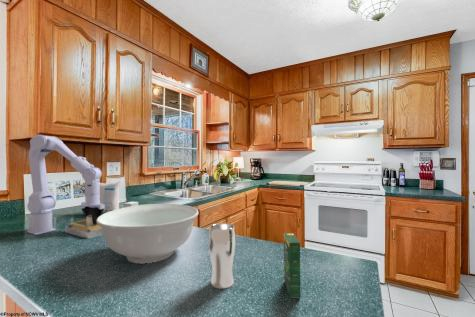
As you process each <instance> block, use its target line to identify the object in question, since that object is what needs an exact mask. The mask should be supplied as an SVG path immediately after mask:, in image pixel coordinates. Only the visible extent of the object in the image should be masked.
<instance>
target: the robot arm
mask: <svg viewBox="0 0 475 317" xmlns="http://www.w3.org/2000/svg"><path fill="white" fill-rule="evenodd" d="M29 144H30V147H29V150H28V162H29V171H30V176H31V177H30V178H31V185H32V193H31V194H30V195H29V196H28V203H27V205H26V207H27V210H28V212H30V216H29V217H28V221H29V224H28V228H29V229H28V230H26V233H30V234H31V235H42V234H47V233H51V232H55V231H57V228H53V211H54V208H55V207H56V205H57V201H56V198H55V197H54V193H53V192H52V191H51V190H49V182H48V175H47V167H46V159H45V158H46V156H47V155H48V154H49V153H51V152H53V151H55V152H57V153H59V154H60V155H61V156H63V157H64V158H65V159H67V160H68V161H69V162H70V166H71V167H72V168H73V169H75V170H76V171H77V172H79V173H80V174H81V177H82V179H83V180H84V187H85V188H84V195H85V198H84V200H85V201H84V202H81V203H80V204H81V205H80V207H82V208H81V211H82V213H83V214H84V218H86V217H87V216H88V215H92V221H93V224H97V218H98V217H99V216H101V215H102V213H104V212H103V210H104V209H105V204H102V203H100V183H101V182H100V180H101V178H102V176H103V171H102V170H101V169H100V168H99V167H95V165H94V164H91V163H90V162H88V160H87V157H84V156H78V155H77V154H75V153H74V152H73V151H72V150H71V149H70V148H69V147H68V146H67V145H66V144H65V143H64V142H63V141H62V140H61V139H59V137H57V136H54V135H53V136H50V135H43V134H36V135H34V136H33V137H32V138H31V139H30V140H29Z"/></svg>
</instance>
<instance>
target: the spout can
mask: <svg viewBox="0 0 475 317" xmlns="http://www.w3.org/2000/svg"><path fill="white" fill-rule="evenodd" d="M85 220H86V221H87V226H93V225H97V224H93V221H92V215H88V216H87V217H85Z"/></svg>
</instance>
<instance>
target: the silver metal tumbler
mask: <svg viewBox="0 0 475 317" xmlns="http://www.w3.org/2000/svg"><path fill="white" fill-rule="evenodd" d="M208 249H209V256H210V261H211V270H212V271H211V272H212V273H211V279H210V285H211V287H213V288H216V289H219V290H222V289H223V290H225V289H228V288H230V287H232V286H233V285H234V282H235V280H234V275H233V266H234V265H233V262H234V258H235V251H236V234H235V225H234V224H231V223H225V222H223V223H222V222H220V223H219V222H218V223H214V224H211V225H209V235H208Z"/></svg>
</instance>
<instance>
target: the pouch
mask: <svg viewBox="0 0 475 317" xmlns="http://www.w3.org/2000/svg"><path fill="white" fill-rule="evenodd" d="M120 185H121V182H120V181H117V182H113V183H111V182H110V183H105V182H100V203H102V204H105V209H104V210H103V212H102V213H107V212H109V211H112V210H116V209H120Z"/></svg>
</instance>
